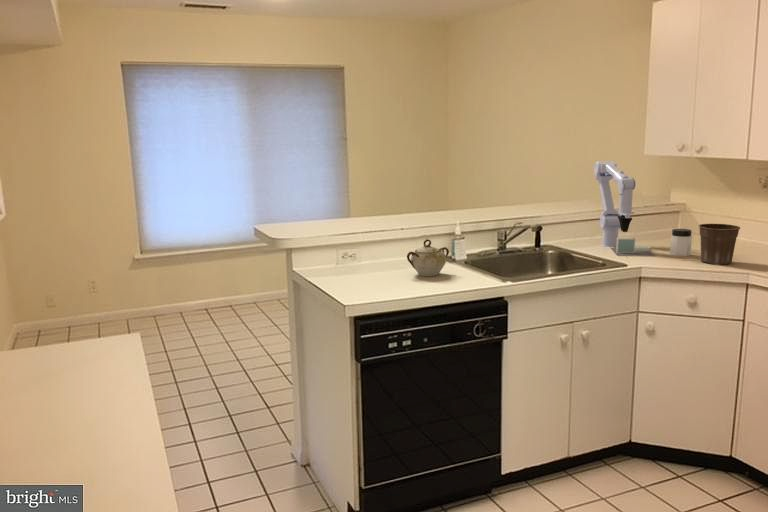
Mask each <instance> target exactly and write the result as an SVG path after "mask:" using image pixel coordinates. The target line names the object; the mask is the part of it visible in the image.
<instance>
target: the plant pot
mask: <svg viewBox="0 0 768 512" xmlns="http://www.w3.org/2000/svg"><path fill="white" fill-rule="evenodd" d="M698 228H699V235H700V261H701V262H702V263H707V264H708V263H709V264H710V265H714V264H726V265H731V264H732V263H733V257H734V252H735V247H736V242H737V238H738V235H739V231H740V229H741V226H739V225H736V224H735V225H734V224H727V223H702V224H698ZM709 264H708V265H709Z"/></svg>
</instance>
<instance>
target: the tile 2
mask: <svg viewBox="0 0 768 512" xmlns="http://www.w3.org/2000/svg"><path fill="white" fill-rule="evenodd" d="M635 251H650V252H651V247H650V246H648V245H635Z"/></svg>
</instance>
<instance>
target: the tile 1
mask: <svg viewBox="0 0 768 512" xmlns="http://www.w3.org/2000/svg"><path fill="white" fill-rule="evenodd" d="M635 246H636V238H635V237H618V238H617V247H616V248H617V249H616V252H617V253H635Z"/></svg>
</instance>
